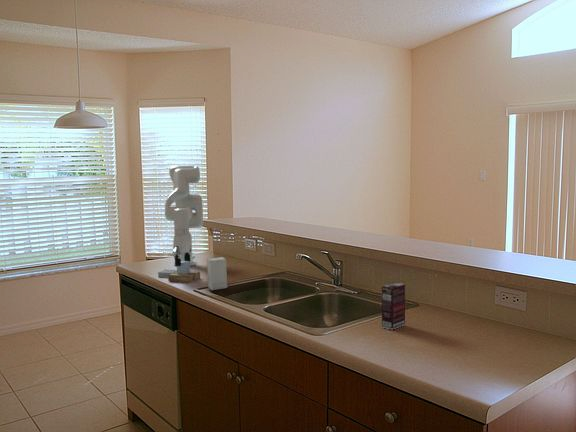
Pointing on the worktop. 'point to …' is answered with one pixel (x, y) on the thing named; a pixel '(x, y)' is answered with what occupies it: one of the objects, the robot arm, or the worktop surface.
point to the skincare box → (217, 273)
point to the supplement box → (393, 305)
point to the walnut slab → (184, 277)
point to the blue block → (184, 267)
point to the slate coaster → (166, 273)
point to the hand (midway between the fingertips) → (182, 264)
